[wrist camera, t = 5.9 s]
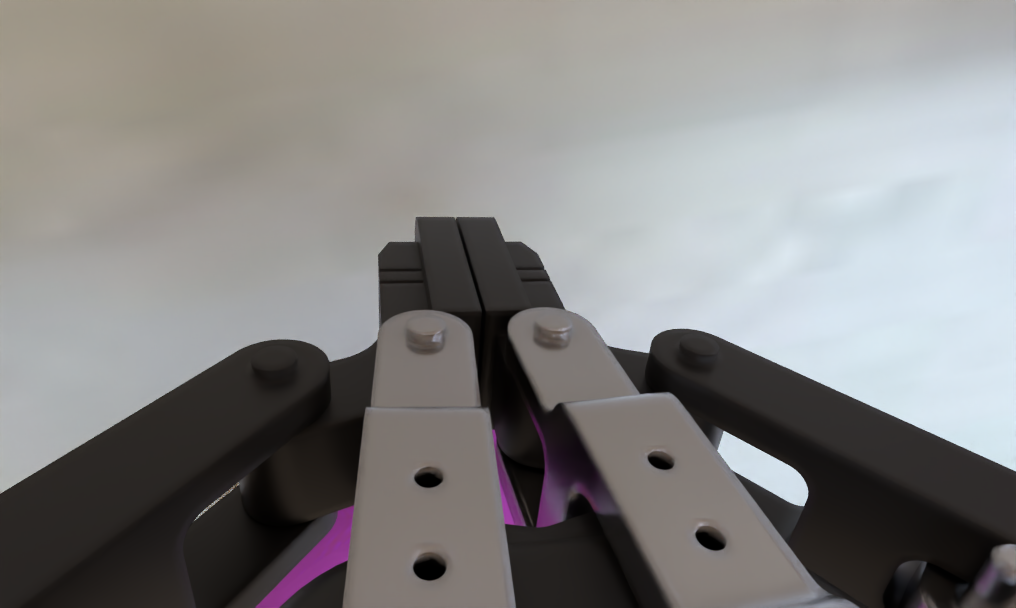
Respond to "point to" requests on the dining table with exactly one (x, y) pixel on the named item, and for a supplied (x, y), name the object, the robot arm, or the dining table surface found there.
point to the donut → (331, 555)
